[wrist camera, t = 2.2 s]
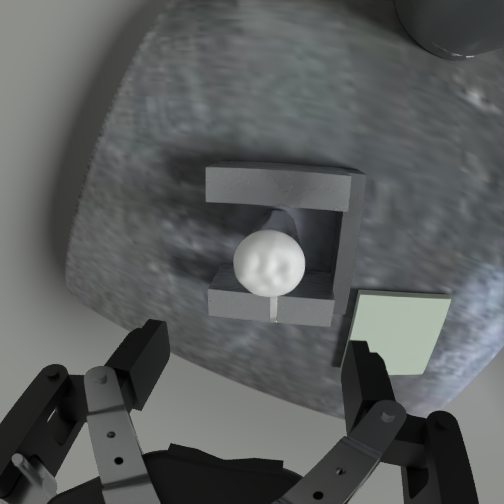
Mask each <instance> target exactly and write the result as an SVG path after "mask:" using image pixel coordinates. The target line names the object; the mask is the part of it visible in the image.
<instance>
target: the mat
mask: <svg viewBox="0 0 504 504" xmlns="http://www.w3.org/2000/svg"><path fill="white" fill-rule="evenodd" d="M450 302H451V298H450V297H449V295H448V294H427V293H408V292H391V291H375V290H358V295H357V300H356V304H355V309H354V314H353V318H352V323H351V327H350V331H349V335H348V340H347V344H346V348H345V352H344V356H343V359H342V363H341V367H340V371H342V366H343V362H344V358H345V354H346V350H347V346H348V342H349V340H363V341H367V343H368V346H369V350H370V352H377V353H378V354H379V355H380V356H381V357H382V358H383V360H384V362H385V365H386V370H387V372H388V375H410V374H423V372H424V370H425V367H426V365H427V363H428V360H429V358H430V356H431V353H432V351H433V348H434V346H435V344H436V341H437V338H438V336H439V333H440V331H441V328H442V325H443V323H444V320H445V317H446V314H447V311H448V308H449V305H450Z"/></svg>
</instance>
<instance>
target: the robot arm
mask: <svg viewBox="0 0 504 504" xmlns="http://www.w3.org/2000/svg"><path fill="white" fill-rule="evenodd" d="M395 8H396V11H397V14H398V17H399V19H400V21H401V23H402V25H403V26H404V28H405V29H406V30H407V32H408V33H409V35H410V36H411V37H412V38H413V39H414V40H415V41H416V42H417V43H418V44H420V45H421V46H422V47H423V48H425V49H426V50H428V51H429V52H431V53H433V54H434V55H436V56H439V57H441V58H444V59H449V60H464V59H467V58H472V57H475V56H476V55H479V54H482V53H486V52H489V51H492V50H496V49H499V48H502V47H504V0H395ZM169 356H170V344H169V337H168V330H167V324H166V322H165V321H160V320H153V319H149V320H148V321H147V322H146V323H145V324H144V326H143V327H142V328H136V329H135V330H133V331H132V332H130V333H129V334H128V335H127V336H126V338H125V339H124V341H123V342H122V343H121V344H120V345H119V347H118V348H117V350H116V351H115V352H114V353H113V355H112V356H111V357H110V358H109V360H108V361H107V363H106V364H105V365H104V366H97V367H94V368H92V369H90V370H88V371H87V372H86V374H85V375H69V374H68V371H67V369H66V368H65V367H64V366H63V365H59V364H52V365H49V366H47V367H45V368H43V369H42V370H41V372H40V373H39V374H38V375H37V376H36V378H35V379H34V380H33V381H32V383H31V384H30V385H29V387H28V388H27V389H26V390H25V392H24V393H23V394H22V396H21V397H20V398H19V399H18V401H17V402H16V403H15V405H14V406H13V407H12V409H11V410H10V411H9V412H8V414H7V415H6V417H5V418H4V419H3V421H2V422H1V424H0V504H348V503H349V502H350V501H351V500H352V498H353V497H354V496H355V494H356V493H357V492H358V491H359V489H360V488H361V487H362V486H363V484H364V483H365V482H366V480H367V479H368V478H369V477H370V475H371V474H372V472H373V471H374V470H375V469H376V467H377V466H378V465H379V463H380V462H384V463H388V464H393V465H398V466H401V475H402V485H403V496H404V504H479V502H478V497H477V492H476V488H475V483H474V480H473V475H472V471H471V467H470V463H469V459H468V455H467V452H466V448H465V445H464V441H463V438H462V434H461V431H460V428H459V425H458V422H457V420H456V418H455V417H454V416H453V415H452V414H450V413H448V412H445V411H434V412H432V413H431V414H430V415H429V416H428V417H427V418H422V417H416V416H412V415H409V414H407V413H406V410H405V409H404V407H403V406H402V405H401V404H399V403H397V402H396V400H395V397H394V393H393V389H392V386H391V382H390V379H389V377H388V372H387V370H386V365H385V362H384V360H383V358H382V357H381V356H380V355H379V354H378V353H377V352H370V350H369V346H368V343H367V341H363V340H349V342H348V346H347V350H346V354H345V358H344V362H343V366H342V371H341V383H342V392H343V401H344V411H345V421H346V431H347V437H346V436H344V437H343V438H342V439H340V441H339V442H338V443H337V444H336V445H335V446H334V447H333V448H332V449H331V450H330V451H329V452H328V453H327V454H326V455H325V456H324V458H323V459H322V460H321V461H320V462H319V463H318V464H317V465H316V466H315V467H314V468H312V469H311V470H310V472H308V473H307V474H306V475H305V476H304V477H302V476H301V475H299V474H297V473H295V472H293V471H290V470H288V469H285V468H283V461H282V460H270V459H260V458H248V459H233V460H223V459H220V458H217V457H215V456H213V455H210V454H208V453H205V452H203V451H201V450H198V449H195V448H190V447H185V446H181V445H176V444H172V443H171V444H170V446H169V448H168V450H159V451H153V452H149V453H145V454H144V453H143V451H142V448H141V446H140V443H139V440H138V437H137V435H136V432H135V429H134V426H133V423H132V420H131V417H130V414H129V413H130V411H131V410H132V409H136V410H140V411H142V409H143V407H144V405H145V403H146V401H147V399H148V397H149V396H150V394H151V392H152V390H153V388H154V386H155V384H156V383H157V381H158V379H159V377H160V375H161V373H162V371H163V369H164V368H165V366H166V364H167V362H168V360H169ZM54 409H55V412H54V413H53V415H52V417H51V418H50V420H49V421H48V418H49V417H50V415H51V414H52V412H53V411H54ZM47 421H48V423H47ZM85 422H88V427H89V432H90V437H91V442H92V446H93V451H94V455H95V459H96V463H97V467H98V471H99V475H100V476H98V477H96V478H94V479H92V480H90V481H87V482H85V483H83V484H81V485H78V486H76V487H74V488H72V489H69V490H67V491H64V492H62V493H60V494H58V495H57V493H56V491H57V482H56V480H55V476H56V474H57V472H58V470H59V468H60V467H61V465H62V463H63V461H64V459H65V457H66V455H67V453H68V451H69V450H70V448H71V446H72V444H73V442H74V441H75V439H76V437H77V435H78V433H79V432H80V430H81V428H82V426H83V424H84V423H85Z"/></svg>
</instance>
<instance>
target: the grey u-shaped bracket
mask: <svg viewBox="0 0 504 504" xmlns="http://www.w3.org/2000/svg"><path fill="white" fill-rule="evenodd" d="M365 185H366V174H364V173H363V172H361V171H360V170H355V169H345V168H336V167H325V166H314V165H302V164H288V163H271V162H251V161H220V162H217V163H215V164H212V165H210V166H208V167H206V202H218V203H237V204H254V205H269V206H283V207H297V208H309V209H321V210H333V211H338V212H337V221H336V230H335V238H334V246H333V254H332V261H331V269H330V273H327V272H314V271H304V275H303V277H302V279H301V281H300V282H299V284H298V285H297V286H296V287H295V288H294V289H293V290H292V291H290V292H288V293H286V294H284V295H280V296H277V322H276V323H287V324H300V325H313V326H328V327H330V325H331V320H332V314H344V315H345V314H346V309H347V304H348V299H349V293H350V288H351V283H352V277H353V271H354V265H355V259H356V253H357V247H358V240H359V233H360V226H361V219H362V211H363V203H364V194H365ZM208 306H209V315H211V316H219V317H228V318H236V319H246V320H255V321H265V322H269V319H270V297H265V296H259V295H256V294H253V293H252V292H250V291H249V290H248V289H246V288H245V287H244V286H243V285H242V284H241V283H240V282H239V281H238V279H237V277H236V275H235V271H234V265H230V264H221V266H220V268H219V270H218V272H217V273H216V275H215V277H214V279H213V281H212V282H211V284H210V286H209V288H208Z"/></svg>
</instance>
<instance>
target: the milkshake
mask: <svg viewBox="0 0 504 504" xmlns="http://www.w3.org/2000/svg"><path fill="white" fill-rule="evenodd" d="M233 264H234V271H235V275H236V277H237V279H238V281H239V282H240V283H241V284H242V285H243V286H244V287H245V288H246V289H248V290H249V291H250V292H252V293H253V294H256V295H259V296H265V297H270V319H269V322H270V323H276V322H277V296H280V295H284V294H286V293H288V292H290V291H292V290H293V289H294V288H295V287H296V286H297V285H298V284H299V282H300V281H301V279H302V277H303V275H304V271H305V258H304V254H303V251H302V248H301V245H300V241H299V238H298V233H297V229H296V224H295V220H294V219H293V218H292V217H291V216H290V215H289V214H288V213H287V212H286V211H280V210H275V209H274V210H272V211H270V212H268V213H266V214H264V215H263V216H262V217H261V219H260V220H259V221H258V223H257V224H256V225H255V227H254V228H253V229H252V230H251V232H250V233H249V234H248V235H247V236H246V237H245V238H244V239H243V241H242V242H241V243H240V244H239V245H238V247H237V249H236V251H235V254H234V258H233Z"/></svg>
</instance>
